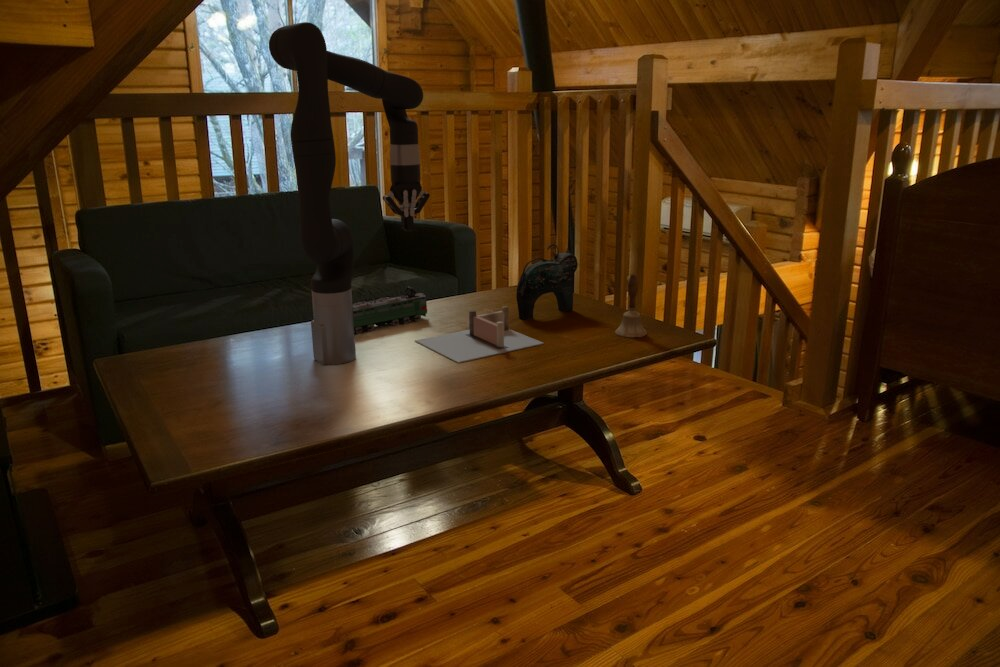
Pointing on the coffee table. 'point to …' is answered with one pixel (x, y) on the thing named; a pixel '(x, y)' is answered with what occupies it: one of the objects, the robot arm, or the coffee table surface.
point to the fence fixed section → (491, 318)
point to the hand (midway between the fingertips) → (407, 230)
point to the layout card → (475, 345)
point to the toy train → (389, 310)
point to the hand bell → (631, 314)
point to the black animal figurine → (547, 282)
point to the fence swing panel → (489, 330)
